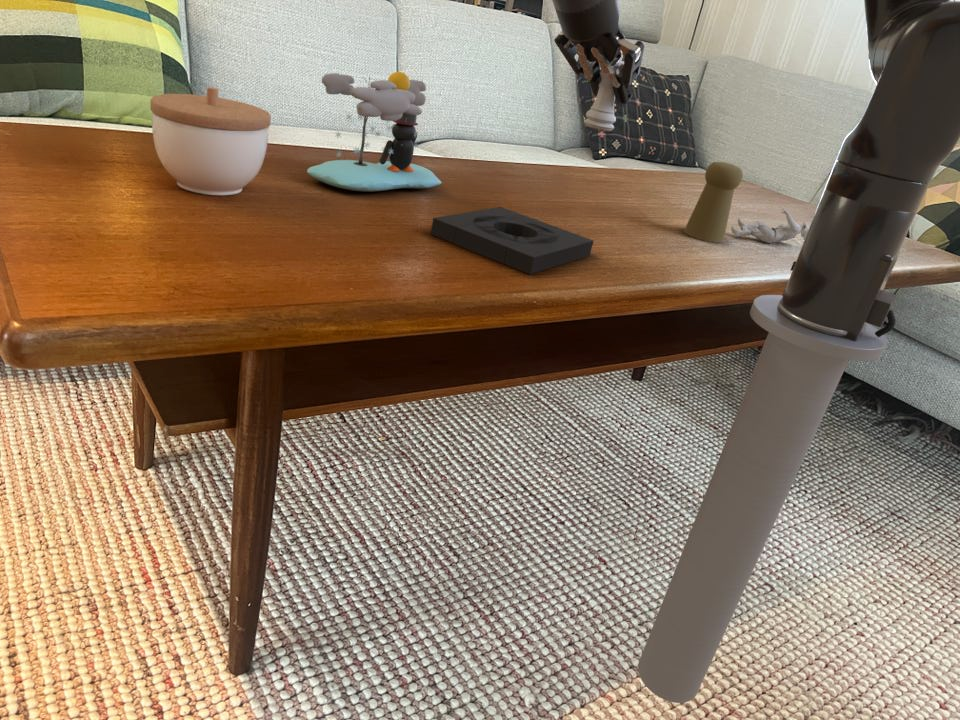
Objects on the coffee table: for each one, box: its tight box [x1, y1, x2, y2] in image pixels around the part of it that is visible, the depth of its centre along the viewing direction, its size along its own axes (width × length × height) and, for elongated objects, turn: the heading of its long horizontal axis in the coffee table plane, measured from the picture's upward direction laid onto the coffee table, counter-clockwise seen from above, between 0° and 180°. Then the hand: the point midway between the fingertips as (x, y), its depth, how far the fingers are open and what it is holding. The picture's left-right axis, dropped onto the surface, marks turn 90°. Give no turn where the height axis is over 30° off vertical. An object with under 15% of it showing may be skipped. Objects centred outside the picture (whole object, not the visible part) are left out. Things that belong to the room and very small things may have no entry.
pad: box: [430, 206, 594, 275], centre depth 86 cm, size 14×14×2 cm
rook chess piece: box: [583, 69, 620, 132], centre depth 101 cm, size 4×4×8 cm
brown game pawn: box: [683, 161, 744, 244], centre depth 108 cm, size 6×6×11 cm
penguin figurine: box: [306, 71, 442, 193], centre depth 97 cm, size 20×11×15 cm, turn 133°
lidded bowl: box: [149, 86, 272, 196], centre depth 83 cm, size 13×13×11 cm
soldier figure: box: [730, 207, 810, 244], centre depth 114 cm, size 8×5×12 cm
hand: (613, 99), depth 102 cm, fingers closed on rook chess piece, 3 cm apart
